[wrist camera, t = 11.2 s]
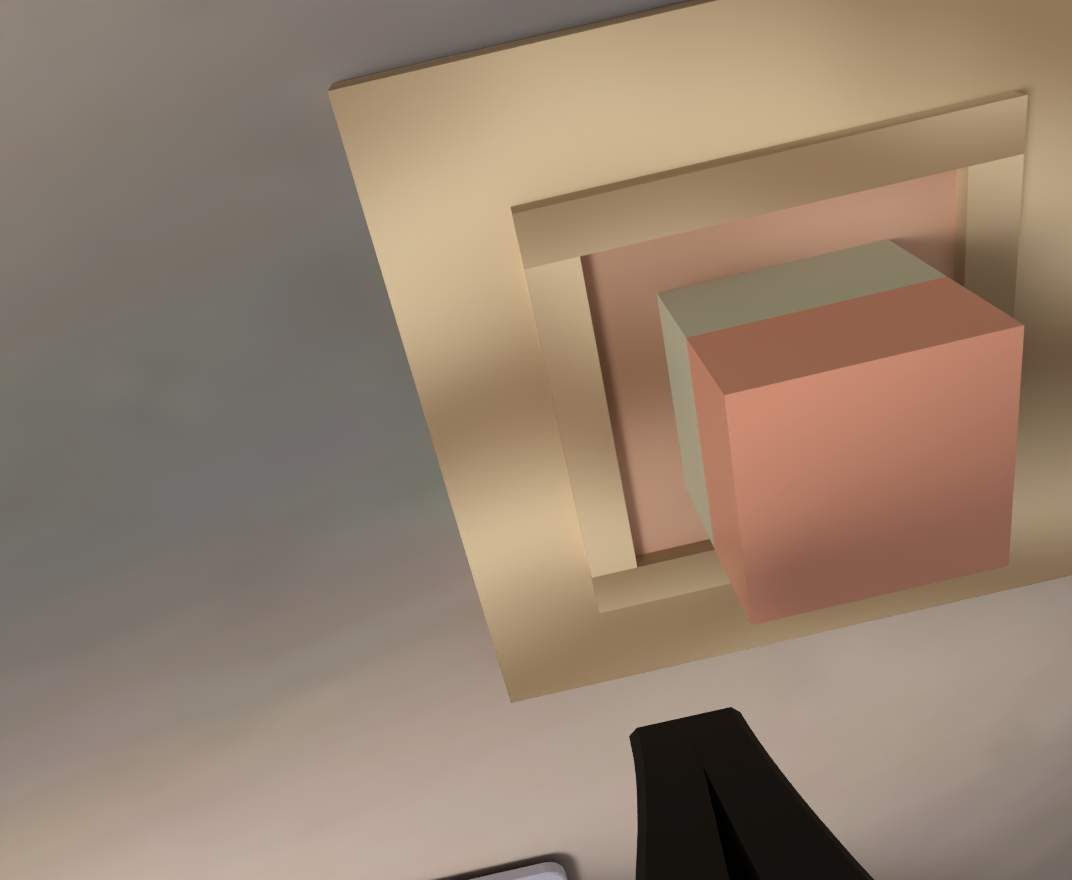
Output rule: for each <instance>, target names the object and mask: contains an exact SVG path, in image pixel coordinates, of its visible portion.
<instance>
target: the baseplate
mask: <svg viewBox="0 0 1072 880" xmlns="http://www.w3.org/2000/svg"><path fill="white" fill-rule="evenodd" d="M328 95H329V98H330V101H331V105H332V108H333V111H334V115H335V118H336V121H337V125H338V128H339V131H340V135H341V138H342V141H343V145H344V148H345V151H346V155H347V158H348V161H349V165H350V168H351V171H352V175H353V178H354V181H355V185H356V188H357V191H358V195H359V198H360V201H361V205H362V208H363V211H364V215H365V218H366V221H367V225H368V228H369V231H370V235H371V238H372V241H373V245H374V248H375V251H376V255H377V258H378V261H379V265H380V268H381V271H382V275H383V278H384V281H385V285H386V288H387V291H388V295H389V298H390V301H391V305H392V308H393V311H394V315H395V318H396V321H397V325H398V328H399V331H400V335H401V338H402V341H403V345H404V348H405V351H406V355H407V358H408V361H409V365H410V368H411V371H412V375H413V378H414V381H415V385H416V388H417V391H418V395H419V398H420V401H421V405H422V408H423V411H424V415H425V418H426V421H427V425H428V428H429V431H430V435H431V438H432V441H433V445H434V448H435V451H436V455H437V458H438V461H439V465H440V468H441V471H442V475H443V478H444V481H445V485H446V488H447V491H448V495H449V498H450V501H451V505H452V508H453V511H454V515H455V518H456V521H457V525H458V528H459V531H460V535H461V538H462V541H463V545H464V548H465V551H466V555H467V558H468V561H469V565H470V568H471V571H472V575H473V578H474V581H475V585H476V588H477V591H478V595H479V598H480V601H481V605H482V608H483V611H484V615H485V618H486V621H487V625H488V628H489V631H490V635H491V638H492V641H493V645H494V648H495V651H496V655H497V658H498V661H499V665H500V668H501V671H502V675H503V678H504V681H505V685H506V688H507V691H508V695H509V698H510V701H511V703H512V702H517V701H521V700H525V699H530V698H534V697H539V696H543V695H547V694H552V693H556V692H561V691H565V690H569V689H574V688H578V687H582V686H587V685H591V684H596V683H600V682H604V681H609V680H613V679H618V678H622V677H626V676H631V675H635V674H640V673H644V672H648V671H653V670H657V669H662V668H666V667H670V666H675V665H679V664H683V663H688V662H692V661H697V660H701V659H705V658H710V657H714V656H719V655H723V654H727V653H732V652H736V651H741V650H745V649H749V648H754V647H758V646H763V645H767V644H771V643H776V642H780V641H784V640H789V639H793V638H798V637H802V636H806V635H811V634H815V633H820V632H824V631H828V630H833V629H837V628H842V627H846V626H850V625H855V624H859V623H864V622H868V621H872V620H877V619H881V618H885V617H890V616H894V615H899V614H903V613H907V612H912V611H916V610H921V609H925V608H929V607H934V606H938V605H943V604H947V603H951V602H956V601H960V600H964V599H969V598H973V597H978V596H982V595H986V594H991V593H995V592H1000V591H1004V590H1008V589H1013V588H1017V587H1022V586H1026V585H1030V584H1035V583H1039V582H1044V581H1048V580H1052V579H1057V578H1061V577H1065V576H1070V575H1072V0H689V1H684V2H680V3H676V4H671V5H667V6H663V7H659V8H654V9H650V10H646V11H641V12H637V13H633V14H629V15H624V16H620V17H616V18H611V19H607V20H603V21H598V22H594V23H590V24H586V25H581V26H577V27H573V28H568V29H564V30H560V31H556V32H551V33H547V34H543V35H538V36H534V37H530V38H526V39H521V40H517V41H513V42H508V43H504V44H500V45H496V46H491V47H487V48H483V49H478V50H474V51H470V52H466V53H461V54H457V55H453V56H448V57H444V58H440V59H436V60H431V61H427V62H423V63H418V64H414V65H410V66H405V67H401V68H397V69H393V70H388V71H384V72H380V73H375V74H371V75H367V76H363V77H358V78H354V79H350V80H345V81H341V82H337V83H333V84H332V86H331V87H330V89H329V90H328ZM886 239H888V240H890V241H891V242H893V243H895V244H896V245H898V246H899V247H901V248H903V249H904V250H906V251H907V252H909V253H910V254H912V255H914V256H915V257H917V258H918V259H920V260H922V261H923V262H925V263H926V264H928V265H930V266H931V267H933V268H934V269H936V270H938V271H939V272H941V273H942V274H944V275H945V276H947V277H949V278H950V279H952V280H953V281H955V282H957V283H958V284H960V285H961V286H963V287H965V288H966V289H968V290H969V291H971V292H973V293H974V294H976V295H977V296H979V297H980V298H982V299H984V300H985V301H987V302H988V303H990V304H992V305H993V306H995V307H996V308H998V309H1000V310H1001V311H1003V312H1004V313H1006V314H1008V315H1009V316H1011V317H1012V318H1014V319H1015V320H1017V321H1019V322H1020V323H1022V324H1023V325H1024V339H1023V354H1022V369H1021V385H1020V400H1019V415H1018V430H1017V446H1016V461H1015V476H1014V492H1013V507H1012V522H1011V537H1010V553H1009V566H1006V567H1001V568H997V569H993V570H989V571H984V572H980V573H976V574H971V575H967V576H963V577H958V578H954V579H950V580H945V581H941V582H937V583H932V584H928V585H924V586H919V587H915V588H911V589H906V590H902V591H898V592H894V593H889V594H885V595H881V596H876V597H872V598H868V599H863V600H859V601H855V602H850V603H846V604H842V605H837V606H833V607H829V608H824V609H820V610H816V611H811V612H807V613H803V614H798V615H794V616H790V617H786V618H781V619H777V620H773V621H768V622H764V623H760V624H755V625H751V624H750V622H749V620H748V618H747V616H746V614H745V612H744V609H743V607H742V605H741V603H740V601H739V599H738V597H737V595H736V593H735V591H734V588H733V586H732V584H731V582H730V580H729V578H728V576H727V574H726V572H725V570H724V567H723V565H722V563H721V561H720V559H719V557H718V555H717V553H716V551H715V549H714V546H713V544H712V542H711V540H710V538H709V536H708V534H707V532H706V530H705V528H704V525H703V523H702V521H701V519H700V517H699V515H698V513H697V511H696V509H695V507H694V504H693V502H692V500H691V498H690V496H689V494H688V492H687V490H686V486H685V479H684V473H683V466H682V459H681V453H680V446H679V439H678V433H677V426H676V419H675V412H674V406H673V399H672V392H671V386H670V379H669V372H668V365H667V359H666V352H665V345H664V339H663V332H662V325H661V319H660V312H659V305H658V298H657V293H661V292H665V291H670V290H674V289H678V288H682V287H687V286H691V285H695V284H699V283H704V282H708V281H712V280H716V279H721V278H725V277H729V276H733V275H738V274H742V273H746V272H750V271H755V270H759V269H763V268H767V267H772V266H776V265H780V264H784V263H789V262H793V261H797V260H801V259H806V258H810V257H814V256H818V255H823V254H827V253H831V252H835V251H840V250H844V249H848V248H852V247H857V246H861V245H865V244H869V243H874V242H878V241H882V240H886Z"/></svg>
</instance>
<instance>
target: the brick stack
mask: <svg viewBox="0 0 1072 880" xmlns="http://www.w3.org/2000/svg"><path fill="white" fill-rule="evenodd" d="M657 298H658V305H659V312H660V319H661V325H662V332H663V339H664V345H665V352H666V359H667V365H668V372H669V379H670V386H671V392H672V399H673V406H674V412H675V419H676V426H677V433H678V439H679V446H680V453H681V459H682V466H683V473H684V479H685V486H686V490H687V492H688V494H689V496H690V498H691V500H692V502H693V504H694V507H695V509H696V511H697V513H698V515H699V517H700V519H701V521H702V523H703V525H704V528H705V530H706V532H707V534H708V536H709V538H710V540H711V542H712V544H713V546H714V549H715V551H716V553H717V555H718V557H719V559H720V561H721V563H722V565H723V567H724V570H725V572H726V574H727V576H728V578H729V580H730V582H731V584H732V586H733V588H734V591H735V593H736V595H737V597H738V599H739V601H740V603H741V605H742V607H743V609H744V612H745V614H746V616H747V618H748V620H749V622H750V624H751V625H755V624H760V623H764V622H768V621H773V620H777V619H781V618H786V617H790V616H794V615H798V614H803V613H807V612H811V611H816V610H820V609H824V608H829V607H833V606H837V605H842V604H846V603H850V602H855V601H859V600H863V599H868V598H872V597H876V596H881V595H885V594H889V593H894V592H898V591H902V590H906V589H911V588H915V587H919V586H924V585H928V584H932V583H937V582H941V581H945V580H950V579H954V578H958V577H963V576H967V575H971V574H976V573H980V572H984V571H989V570H993V569H997V568H1001V567H1006V566H1009V553H1010V537H1011V522H1012V507H1013V492H1014V476H1015V461H1016V446H1017V430H1018V415H1019V400H1020V385H1021V369H1022V354H1023V339H1024V325H1023V324H1022V323H1020V322H1019V321H1017V320H1015V319H1014V318H1012V317H1011V316H1009V315H1008V314H1006V313H1004V312H1003V311H1001V310H1000V309H998V308H996V307H995V306H993V305H992V304H990V303H988V302H987V301H985V300H984V299H982V298H980V297H979V296H977V295H976V294H974V293H973V292H971V291H969V290H968V289H966V288H965V287H963V286H961V285H960V284H958V283H957V282H955V281H953V280H952V279H950V278H949V277H947V276H945V275H944V274H942V273H941V272H939V271H938V270H936V269H934V268H933V267H931V266H930V265H928V264H926V263H925V262H923V261H922V260H920V259H918V258H917V257H915V256H914V255H912V254H910V253H909V252H907V251H906V250H904V249H903V248H901V247H899V246H898V245H896V244H895V243H893V242H891V241H890V240H888V239H886V240H882V241H878V242H874V243H869V244H865V245H861V246H857V247H852V248H848V249H844V250H840V251H835V252H831V253H827V254H823V255H818V256H814V257H810V258H806V259H801V260H797V261H793V262H789V263H784V264H780V265H776V266H772V267H767V268H763V269H759V270H755V271H750V272H746V273H742V274H738V275H733V276H729V277H725V278H721V279H716V280H712V281H708V282H704V283H699V284H695V285H691V286H687V287H682V288H678V289H674V290H670V291H665V292H661V293H657Z"/></svg>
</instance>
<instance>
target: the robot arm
mask: <svg viewBox="0 0 1072 880" xmlns="http://www.w3.org/2000/svg"><path fill="white" fill-rule="evenodd" d="M629 737H630V742H631V747H632V752H633V757H634V764H635V772H636V784H637V813H638V836H637V860H636V880H874V879H873V878H872V877H871V876H870V875H869V874H868V873H867V871H866V870H865V869H864V868H863V867H862V866H861V865H860V864H859V863H858V862H857V861H856V860H855V858H854V857H853V856H852V855H851V854H850V853H849V852H848V851H847V849H846V848H845V847H844V846H843V845H842V844H841V843H840V841H839V840H838V839H837V838H836V837H835V836H834V835H833V833H832V832H831V831H830V830H829V829H828V828H827V827H826V825H825V824H824V823H823V822H822V821H821V820H820V819H819V817H818V816H817V815H816V814H815V813H814V812H813V810H812V809H811V808H810V807H809V805H808V804H807V803H806V802H805V801H804V799H803V798H802V797H801V796H800V795H799V793H798V792H797V791H796V789H795V788H794V787H793V786H792V784H791V783H790V782H789V781H788V779H787V778H786V777H785V775H784V774H783V773H782V772H781V770H780V769H779V768H778V766H777V765H776V764H775V762H774V761H773V760H772V758H771V757H770V756H769V754H768V753H767V752H766V750H765V749H764V747H763V746H762V745H761V743H760V742H759V740H758V739H757V737H756V736H755V734H754V733H753V731H752V730H751V729H750V727H749V725H748V724H747V722H746V721H745V719H744V718H743V716H742V714H741V713H740V712H739V711H737V710H735V709H734V708H732V707H729V708H725V709H720V710H716V711H711V712H707V713H702V714H698V715H693V716H689V717H684V718H680V719H675V720H670V721H666V722H661V723H657V724H652V725H648V726H643V727H639V728H636V729H635V731H634V732H633V733H632V734H631V735H630V736H629ZM469 880H568V879H567V876H566V873H565V870H564V868H563V867H562V866H561V865H559V864H558V863H554V862H544V863H540V864H535V865H531V866H526V867H522V868H517V869H513V870H509V871H504V872H500V873H495V874H491V875H487V876H482V877H478V878H473V879H469Z"/></svg>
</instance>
